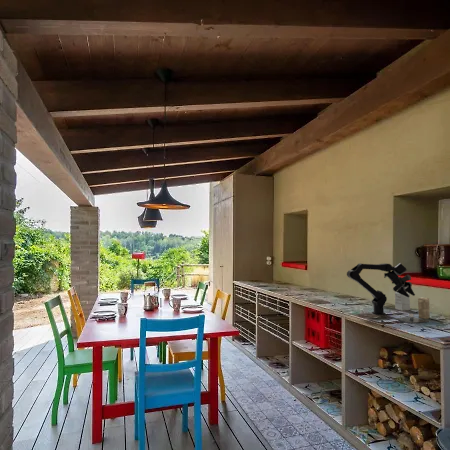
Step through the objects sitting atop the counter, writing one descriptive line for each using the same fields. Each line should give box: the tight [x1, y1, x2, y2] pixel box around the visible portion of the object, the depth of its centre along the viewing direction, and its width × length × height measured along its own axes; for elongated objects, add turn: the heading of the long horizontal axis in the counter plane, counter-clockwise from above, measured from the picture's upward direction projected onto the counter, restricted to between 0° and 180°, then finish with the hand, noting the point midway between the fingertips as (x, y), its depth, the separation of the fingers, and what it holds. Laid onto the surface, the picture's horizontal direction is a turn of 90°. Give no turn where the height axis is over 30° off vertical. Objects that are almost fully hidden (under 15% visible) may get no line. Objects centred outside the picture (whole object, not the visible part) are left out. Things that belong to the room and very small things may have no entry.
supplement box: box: [394, 291, 411, 312], centre depth 268 cm, size 7×7×13 cm
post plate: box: [394, 313, 430, 325], centre depth 232 cm, size 14×14×4 cm
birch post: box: [417, 297, 431, 320], centre depth 240 cm, size 5×5×13 cm
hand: (411, 296), depth 246 cm, fingers open, 9 cm apart
